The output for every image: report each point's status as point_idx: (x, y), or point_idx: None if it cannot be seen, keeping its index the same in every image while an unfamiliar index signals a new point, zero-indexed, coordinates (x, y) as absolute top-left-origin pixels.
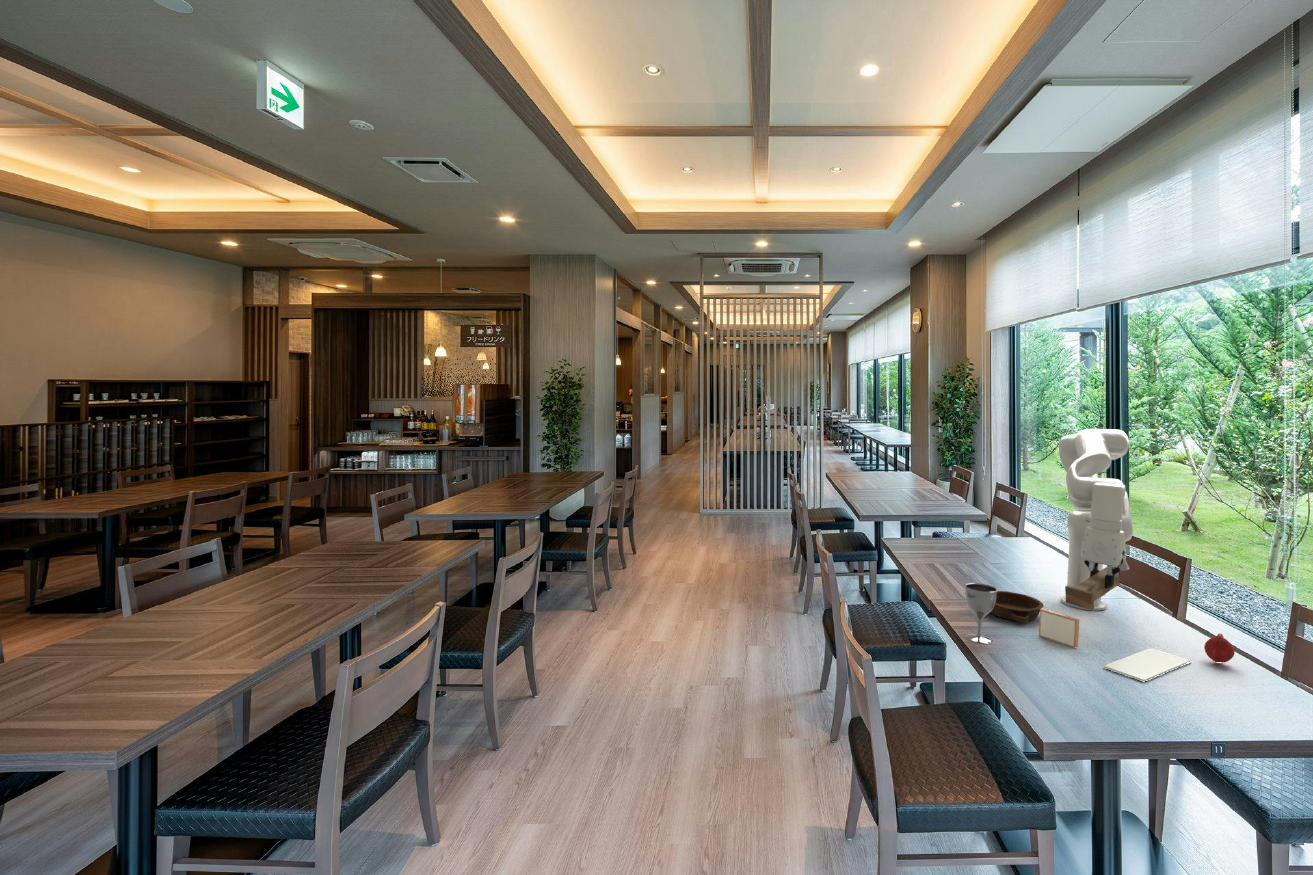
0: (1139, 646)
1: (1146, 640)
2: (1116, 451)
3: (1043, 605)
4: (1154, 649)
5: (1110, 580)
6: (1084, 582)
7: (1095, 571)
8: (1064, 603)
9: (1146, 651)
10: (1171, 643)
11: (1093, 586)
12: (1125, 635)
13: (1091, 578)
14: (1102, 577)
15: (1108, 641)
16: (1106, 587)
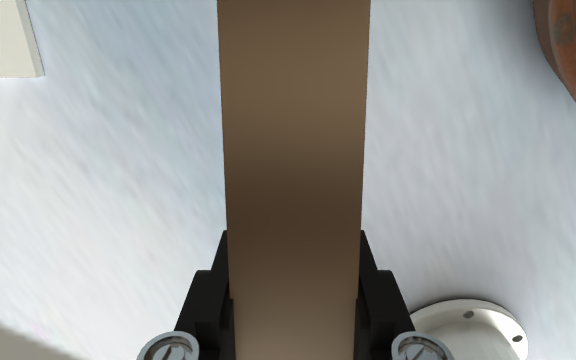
0: (95, 86)
1: (134, 184)
2: None
3: (554, 43)
4: (17, 70)
5: (192, 300)
6: (346, 21)
7: (366, 358)
8: (498, 306)
9: (3, 3)
10: (83, 230)
11: (220, 7)
12: (201, 169)
13: (333, 188)
14: (253, 284)
15: (185, 20)
16: (225, 230)
